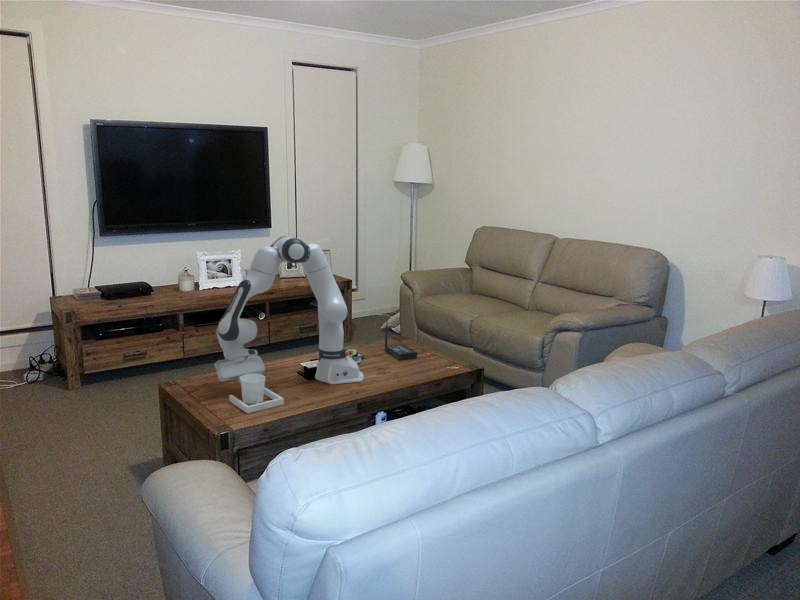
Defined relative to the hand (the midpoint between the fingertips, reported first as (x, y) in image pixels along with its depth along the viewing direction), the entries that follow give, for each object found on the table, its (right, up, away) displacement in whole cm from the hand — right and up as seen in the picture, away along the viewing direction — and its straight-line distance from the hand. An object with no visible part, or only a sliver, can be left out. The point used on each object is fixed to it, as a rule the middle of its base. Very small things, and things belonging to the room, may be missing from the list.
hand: (247, 385), depth 257 cm
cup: (+3, -6, -2) cm, 7 cm away
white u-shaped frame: (+4, -6, -4) cm, 9 cm away
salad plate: (+36, +5, +55) cm, 66 cm away
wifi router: (+63, +7, +68) cm, 93 cm away
